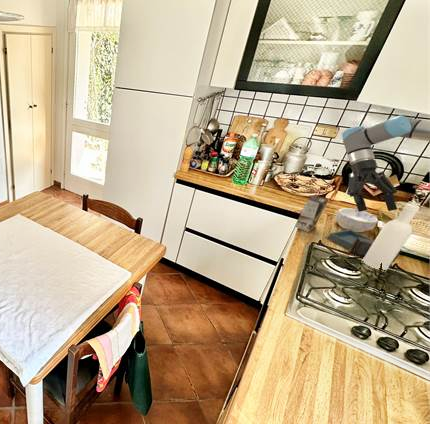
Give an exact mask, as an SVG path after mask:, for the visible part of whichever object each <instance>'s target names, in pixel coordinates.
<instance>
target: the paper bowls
mask: <svg viewBox="0 0 430 424" xmlns="http://www.w3.org/2000/svg"><path fill="white" fill-rule="evenodd" d="M334 219H335V221H336V222H338V223H337V224H338V225H339V227H341V228H342V229H344V230H349V229H350V230H352V231H355V232H357V233H363V232H366V231H372V230H374V229H375V227H376V225H377V223H378V222H379V219H378V217H377V216H376V215H374V214H372V213H370V212H367V211H366V210H365V211H361V212H359V211H358V208H352V207H351V208H350V207H342V208H340V209H338V211H337V213H336V215H335V216H334Z"/></svg>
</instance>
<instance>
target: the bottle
mask: <svg viewBox="0 0 430 424" xmlns="http://www.w3.org/2000/svg"><path fill="white" fill-rule="evenodd" d="M419 211H420V206H419V205H417V204H414V203H405V205H404V206H403V208H402V210H401V212H400V213H399V214H398V216H397V218H395V219H391V220H389V221H387V222H386V223H385V224H384V225H383V226H382V228H381V229H380V231H379V233H378V235H377V236H376V238H375V239H374V242H373V244H372V246H371V247H370V249H369V250H368V252H367V254H366V255H365V257H364V258H363V261H364V263H365V264H366V265H368V266H370V267H372V268H375V269H379V268H380V264H381V263H382V269H383V270H386V271H388V269H389V265H390V264H391V263H392V264H393V262H392V261H393V260H394V258H395V257H396V255H397V254H398V252H399V251H400V250H401V251H402V249H401V248H403V247H404V245H405V244H406V242H407V241H408V239H409V238H410V236H411V235H412V233H413V226H412V225H411V222H412V220H413V219H414V217H415V216H416V214H417V213H418V212H419ZM392 264H391V265H392Z"/></svg>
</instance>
